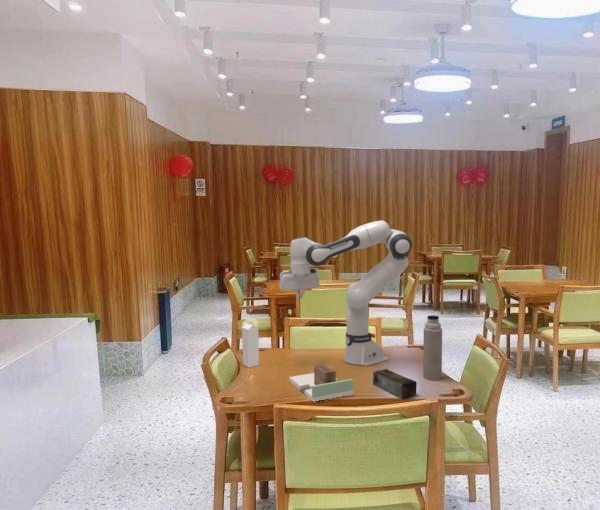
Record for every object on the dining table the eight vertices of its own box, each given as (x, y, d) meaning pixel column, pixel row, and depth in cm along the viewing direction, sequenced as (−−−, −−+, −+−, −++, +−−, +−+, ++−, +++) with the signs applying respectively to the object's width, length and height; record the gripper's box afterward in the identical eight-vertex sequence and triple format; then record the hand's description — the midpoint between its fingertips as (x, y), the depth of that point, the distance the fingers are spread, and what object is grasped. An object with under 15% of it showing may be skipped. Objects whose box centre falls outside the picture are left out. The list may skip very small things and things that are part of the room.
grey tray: (325, 375, 204) (325, 361, 203) (353, 394, 181) (353, 379, 180) (289, 381, 197) (289, 367, 196) (313, 402, 174) (313, 386, 173)
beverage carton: (386, 381, 196) (386, 366, 195) (417, 396, 179) (417, 380, 179) (372, 384, 192) (372, 369, 192) (402, 400, 175) (402, 384, 175)
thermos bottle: (423, 373, 204) (424, 313, 202) (441, 375, 202) (442, 314, 199) (422, 379, 197) (423, 317, 194) (441, 381, 194) (442, 318, 192)
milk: (248, 367, 216) (247, 323, 213) (242, 364, 220) (241, 321, 218) (259, 365, 219) (258, 321, 217) (253, 361, 224) (252, 319, 222)
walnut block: (324, 382, 190) (324, 363, 189) (335, 390, 181) (335, 371, 180) (314, 384, 188) (314, 365, 187) (324, 392, 179) (324, 373, 178)
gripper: (281, 272, 209) (282, 300, 211) (320, 269, 218) (320, 297, 219) (277, 270, 215) (277, 298, 216) (315, 268, 223) (315, 295, 224)
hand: (299, 298), depth 218 cm, fingers closed
